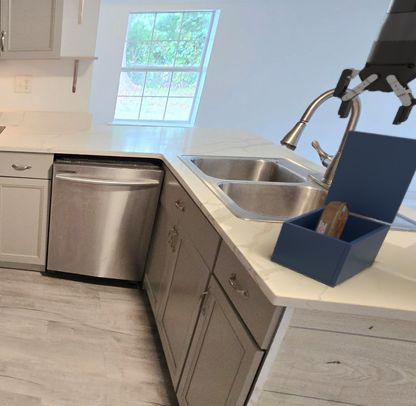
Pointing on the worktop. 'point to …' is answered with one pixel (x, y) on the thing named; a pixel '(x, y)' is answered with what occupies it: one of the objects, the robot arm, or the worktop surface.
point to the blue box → (328, 247)
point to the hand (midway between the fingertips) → (368, 121)
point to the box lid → (373, 174)
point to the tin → (333, 219)
